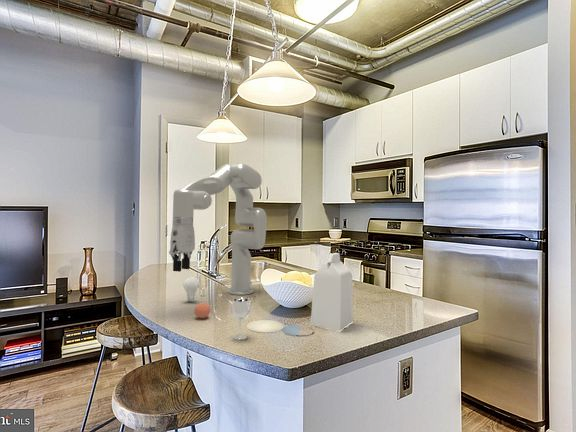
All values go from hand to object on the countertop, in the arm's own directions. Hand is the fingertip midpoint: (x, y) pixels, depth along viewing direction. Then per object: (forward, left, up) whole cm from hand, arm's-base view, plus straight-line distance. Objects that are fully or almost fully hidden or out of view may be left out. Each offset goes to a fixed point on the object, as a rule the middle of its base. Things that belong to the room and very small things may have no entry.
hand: (181, 269), depth 130 cm
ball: (0, +10, -15) cm, 17 cm away
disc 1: (0, +35, -17) cm, 39 cm away
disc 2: (0, +47, -17) cm, 50 cm away
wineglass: (+13, +31, -18) cm, 38 cm away
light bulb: (-18, -6, -18) cm, 26 cm away
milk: (-11, +57, -18) cm, 60 cm away
